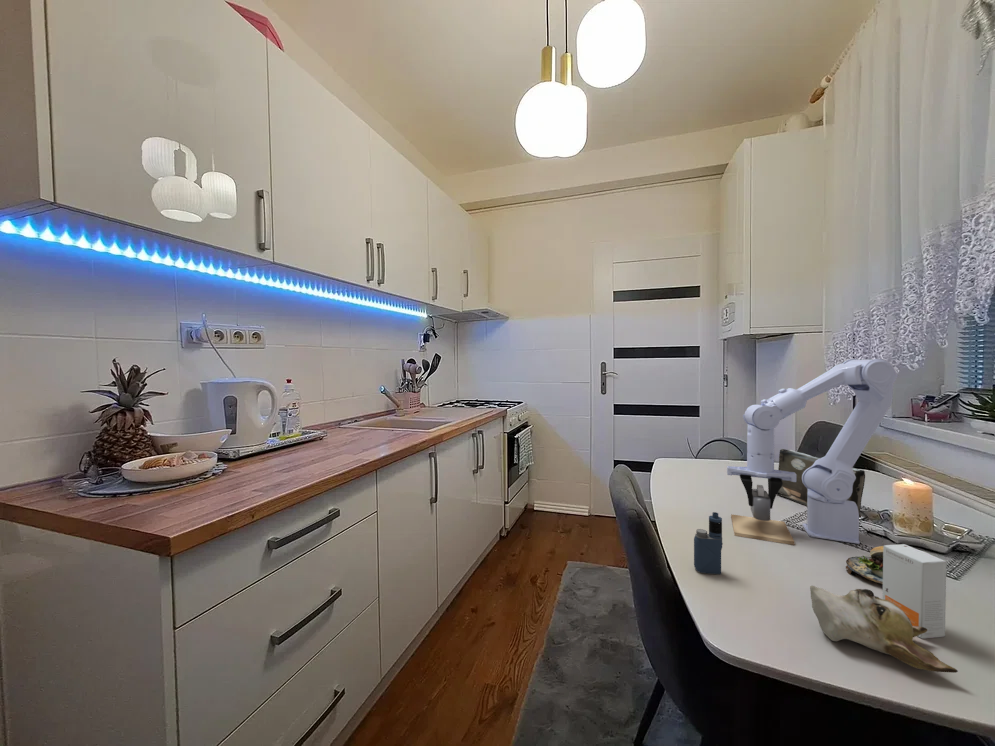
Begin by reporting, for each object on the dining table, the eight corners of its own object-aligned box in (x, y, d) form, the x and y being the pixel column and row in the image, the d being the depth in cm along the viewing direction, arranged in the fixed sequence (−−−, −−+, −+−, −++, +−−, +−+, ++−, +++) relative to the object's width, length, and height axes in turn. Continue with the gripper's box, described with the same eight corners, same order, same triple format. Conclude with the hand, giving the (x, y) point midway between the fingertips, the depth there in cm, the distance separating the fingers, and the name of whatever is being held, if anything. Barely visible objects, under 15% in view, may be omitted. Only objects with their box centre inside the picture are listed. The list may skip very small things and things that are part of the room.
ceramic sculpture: (805, 561, 68) (928, 590, 61) (801, 610, 69) (923, 645, 61) (817, 593, 59) (965, 632, 51) (812, 649, 59) (958, 696, 52)
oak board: (784, 524, 104) (784, 521, 104) (794, 545, 93) (794, 541, 93) (731, 517, 110) (731, 514, 110) (734, 535, 98) (734, 532, 98)
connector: (765, 508, 105) (765, 482, 104) (771, 521, 96) (771, 492, 96) (749, 506, 106) (750, 480, 106) (754, 519, 98) (754, 490, 98)
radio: (872, 520, 107) (872, 465, 106) (843, 522, 106) (844, 466, 105) (796, 492, 130) (796, 447, 129) (772, 494, 129) (772, 448, 128)
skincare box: (880, 615, 67) (881, 544, 67) (903, 613, 68) (904, 543, 67) (922, 640, 61) (923, 562, 61) (947, 638, 61) (948, 560, 61)
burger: (838, 576, 80) (838, 539, 80) (853, 558, 87) (853, 524, 87) (926, 605, 70) (926, 563, 70) (934, 582, 77) (935, 544, 77)
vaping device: (724, 575, 80) (724, 515, 80) (696, 572, 81) (696, 514, 81) (719, 568, 83) (720, 511, 82) (692, 566, 84) (692, 509, 83)
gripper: (728, 453, 101) (728, 506, 101) (799, 458, 94) (798, 516, 94) (726, 447, 107) (726, 498, 107) (793, 452, 100) (792, 506, 101)
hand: (760, 506), depth 101 cm, fingers closed on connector, 3 cm apart
